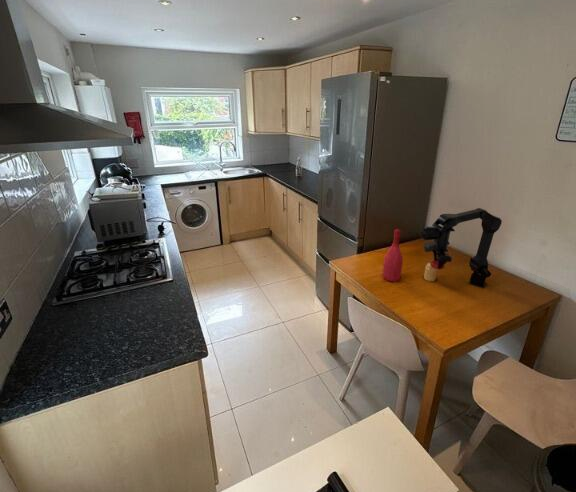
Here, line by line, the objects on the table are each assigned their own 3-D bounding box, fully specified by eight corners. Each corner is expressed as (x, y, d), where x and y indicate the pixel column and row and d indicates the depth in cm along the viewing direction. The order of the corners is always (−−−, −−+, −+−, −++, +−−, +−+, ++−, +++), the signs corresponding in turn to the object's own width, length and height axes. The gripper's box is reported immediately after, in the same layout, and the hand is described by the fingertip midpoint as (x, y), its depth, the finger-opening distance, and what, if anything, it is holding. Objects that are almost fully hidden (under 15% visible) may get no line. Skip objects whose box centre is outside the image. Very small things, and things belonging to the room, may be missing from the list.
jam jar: (436, 278, 172) (439, 264, 170) (433, 282, 168) (436, 268, 165) (425, 274, 176) (428, 261, 173) (422, 278, 172) (424, 265, 169)
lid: (428, 266, 160) (429, 263, 159) (432, 262, 165) (432, 259, 164) (442, 270, 156) (442, 267, 155) (445, 265, 161) (446, 262, 160)
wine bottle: (402, 282, 168) (410, 232, 157) (384, 282, 168) (391, 232, 157) (396, 273, 177) (403, 226, 166) (380, 273, 177) (386, 226, 167)
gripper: (421, 231, 165) (417, 256, 170) (430, 244, 148) (425, 272, 153) (443, 232, 163) (438, 258, 168) (455, 246, 146) (448, 275, 151)
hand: (437, 265), depth 160 cm, fingers closed on lid, 6 cm apart
